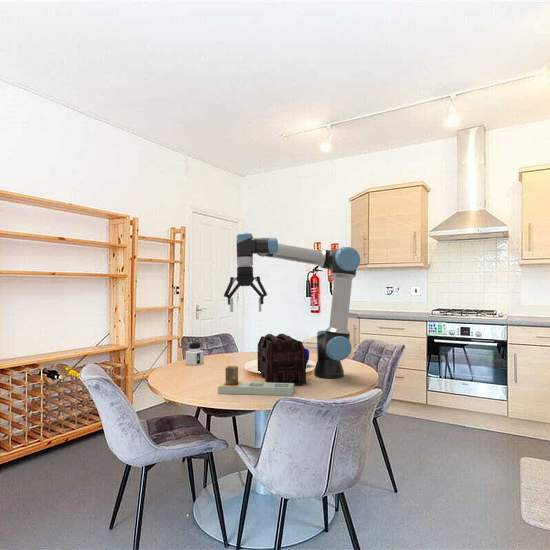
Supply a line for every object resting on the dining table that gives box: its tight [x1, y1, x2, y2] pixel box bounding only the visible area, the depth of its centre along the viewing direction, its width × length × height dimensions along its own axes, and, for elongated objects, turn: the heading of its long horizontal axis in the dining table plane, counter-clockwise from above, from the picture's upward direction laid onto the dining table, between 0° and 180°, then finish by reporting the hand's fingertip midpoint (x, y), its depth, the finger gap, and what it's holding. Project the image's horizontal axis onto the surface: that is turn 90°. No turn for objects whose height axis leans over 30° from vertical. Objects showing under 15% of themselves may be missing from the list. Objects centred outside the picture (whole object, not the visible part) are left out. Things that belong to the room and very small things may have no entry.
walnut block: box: [224, 365, 239, 386], centre depth 173 cm, size 4×4×9 cm
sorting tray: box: [217, 380, 295, 397], centre depth 172 cm, size 32×9×3 cm, turn 82°
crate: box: [257, 333, 307, 387], centre depth 198 cm, size 35×19×21 cm, turn 12°
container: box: [185, 341, 205, 366], centre depth 237 cm, size 8×8×13 cm
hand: (245, 311), depth 185 cm, fingers open, 13 cm apart
